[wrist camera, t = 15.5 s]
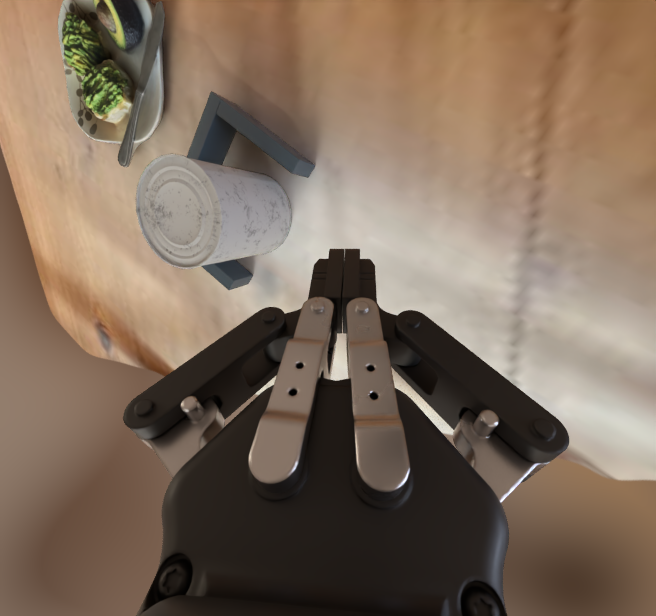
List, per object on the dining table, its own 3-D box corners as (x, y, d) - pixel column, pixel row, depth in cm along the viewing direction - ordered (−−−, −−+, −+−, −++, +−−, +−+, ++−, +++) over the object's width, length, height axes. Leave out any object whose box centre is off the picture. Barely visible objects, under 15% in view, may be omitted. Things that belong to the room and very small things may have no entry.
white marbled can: (249, 154, 36) (161, 126, 25) (306, 211, 35) (241, 209, 24) (212, 218, 40) (122, 218, 29) (262, 270, 40) (189, 290, 29)
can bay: (315, 165, 34) (299, 159, 30) (248, 283, 41) (228, 290, 37) (235, 103, 35) (210, 90, 31) (184, 228, 42) (159, 229, 39)
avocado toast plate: (182, 174, 40) (151, 169, 36) (86, 163, 45) (50, 157, 41) (176, -18, 34) (138, -50, 30) (66, -4, 39) (21, -30, 35)
